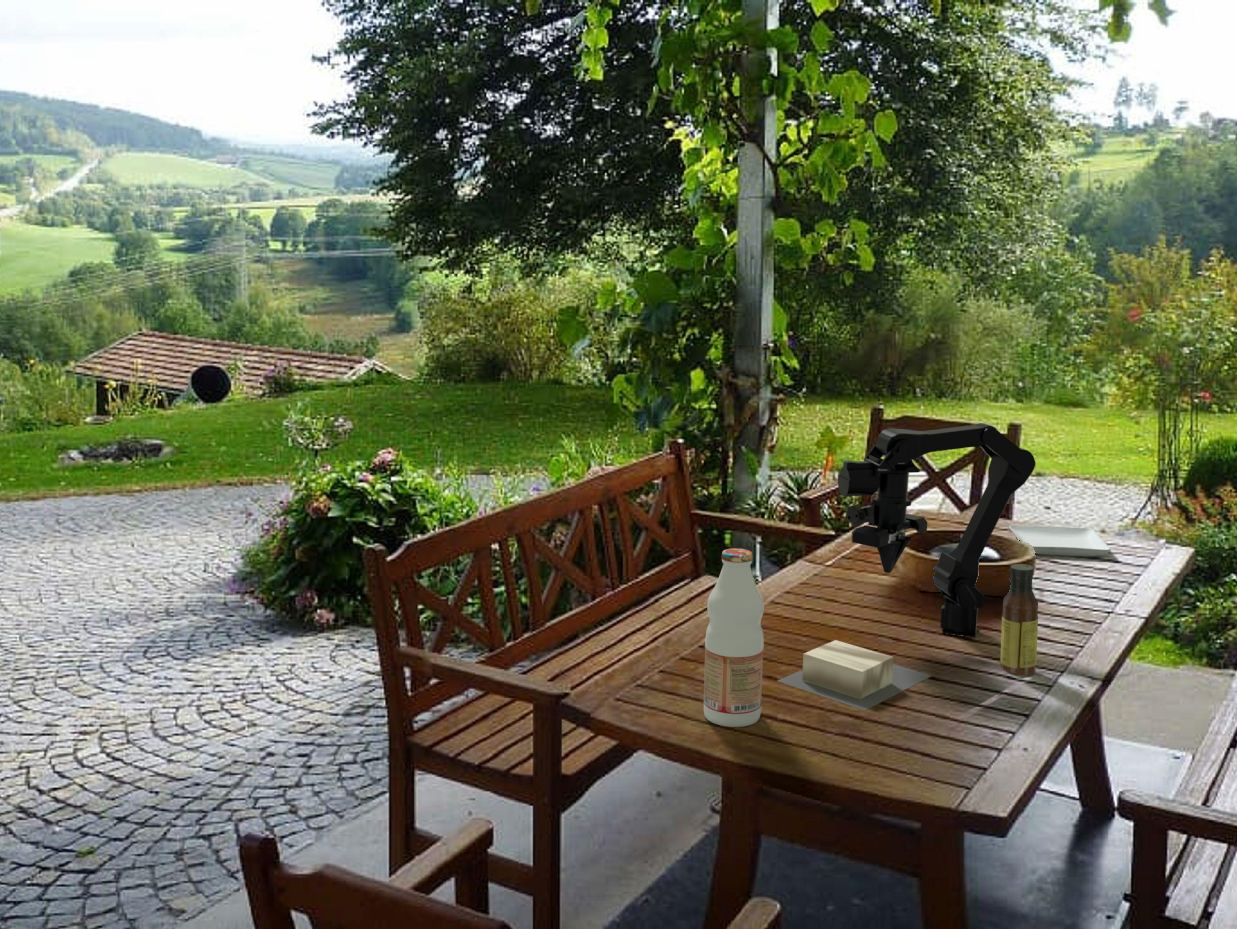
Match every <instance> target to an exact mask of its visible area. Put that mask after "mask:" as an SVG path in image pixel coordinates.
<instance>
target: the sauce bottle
mask: <svg viewBox="0 0 1237 929" xmlns="http://www.w3.org/2000/svg"><path fill="white" fill-rule="evenodd" d="M1009 574H1010V582H1011V585H1010V590H1009V592H1008V593H1007V595H1006V596H1005V597H1003V600H1002V615H1001V633H1000V634H1001V635H1000V659H999V660H1000V668H1001V669H1002V670H1003V671H1004V672H1007V673H1010V674H1013V675H1014V674H1015V675H1020V676H1023V675H1024V676H1025V675H1026V676H1028V677H1029V676H1032V675H1034V674H1035V672H1036V665H1037V657H1038V655H1037V654H1038V652H1037V651H1038V634H1039V632H1038V631H1039V628H1038V627H1039V614H1038V613H1039V612H1038V611H1039V610H1038V609H1039V602H1038V600H1037V598H1036V595H1035V593H1034V592H1033V590H1034V589H1033V579H1034V577H1033V576H1034V574H1035V568H1034V567H1033V565H1030V564H1025V563H1024V564H1023V563H1017V564H1016V563H1015V564H1014V563H1013V564H1012V565H1010V568H1009Z"/></svg>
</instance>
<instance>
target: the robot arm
mask: <svg viewBox="0 0 1237 929" xmlns="http://www.w3.org/2000/svg"><path fill="white" fill-rule="evenodd" d="M977 447H980V448H981V449H982V451H983V452H984V454H986V455H987V456H988V457H989V458H990V462H989V466H988V472H987V474H988V476H987V478H988V479H987V480H988V481H987V484H986V487H985V489H984V491H983V493H982V495H981V498H980V499H979V501H978V504H977V506H976V507H975V510H974V511H973V514H972V515H971V518H970V520H969V522H968V524H967V526H966V527H965V530H964V532H963V533H962V536H961V538H960V540H959V542H958V544H957V546H956V547H955V548H954V549H953V550H952V551H951V552H950V553H947V552H945V551H942V552H941V554H939V555H940V558H939V561H938V563H937V565H936V566H935V567H934V568H933V570H935V573H934V576H933V579H934V582H935V585H936V586H937V587H938V588H939V589H940V592H941V593H940V595H941V596H942V597H943V598H945V601H944V604H943V605H942V606H941V611H940V612H941V613H940V614H941V615H940V628H941V629H942V630H941V633H942V634H943V633H948V634H947V635H949V634H955V635H954V636H957V635H963V636H962V637H966V636H969V637H968V638H976V637H977V632H978V624H977V623H978V612H979V609H980V608H981V609H983V607H984V604H985V602H986V601H987V596H984V595H983V594H982V593H981V592H980V591H979V590H978V589H977V588H976V587H975V585H976V582H977V579H978V576H979V559H980V558H981V556H982V554H983V553H984V550H985V548H986V546H987V545H988V542H989V540H990V538H991V536H992V534H993V532H994V530H995V527H996V526H997V524H998V522H999V520H1000V518H1001V516H1002V514H1003V512H1004V510H1005V508H1006V506H1007V503H1008V502H1009V500H1010V498H1011V496H1012V494H1014V493H1015V492H1016V491H1017V490H1018V489H1020V488H1021V487H1022V486H1023V485H1025V484H1026V482H1027V481H1028V479H1029V478H1030V476H1031V474H1033V472H1034V470H1035V468H1036V464H1037V462H1036V460H1035V457H1034V455H1033V453H1032V452H1031V451H1029V450H1028V449H1025V448H1022V447H1019V446H1018V445H1017V444H1015V443H1014V442H1013V441H1011V440H1010V439H1009V438H1007V437H1006V436H1005V435H1004V434H1002V433H1001V431H999V430H998V429H997V428H996V427H995V426H993V425H991V424H987V423H985V422H978V423H976V424H971V425H970V424H969V425H964V426H963V425H962V426H955V427H953V426H952V427H946V428H937V429H930V430H913V429H907V428H906V429H905V428H890V427H889V428H886V429H882V431H880V433H879V435H877V438H876V439H875V444H874V445H873V446H872V447H871V449H870V450H869V451H868V453H867V454H866V455H865V457H864V458H863V460H858V461H857V460H856V461H855V460H854V461H853V460H844V461H843V465H842V467H841V468H840V470H839V472H838V473H839V474H838V475H837V487H838V491H839V494H840V496H842V497H862V496H863V497H867V496H874V494H875V493H876V498H873V499H871V501H870V505H866V506H862V507H861V505H859V504H854V505H848V506H847V508H846V509H847V510H846V512H845V513H846V514H845V519H846V520H847V521H848V522H849V523H851V526H852V527H855V526H858V525H861V524H865V523H868V524H867V525H862V526H859V527H855V529H854V530H852V531H851V540H850V541H851V543H854V544H858V545H863V546H868V547H872V548H877V551H878V554H879V557H880V562H881V565H882V568H883V572H884V573H886V574H890V573H892V571H893V570H894V568H895V566H896V564H897V562H898V561H899V559H900V558H901V555H902V554H903V552H904V551H905V549H906V547H907V546H908V544H909V543H910V541H912V539H913V538H912V537H911V536H906V534H907V533H906V532H905V531H907V530H909V529H912V530H916V533H917V534H922V533H926V532H927V531H928V521H927V519H926V518H925V517H924V516H920V515H915V514H909V513H907V511H908V510H907V508H908V507H911V506H912V499H908V492H909V475H910V474H912V473H914V474H915V473H921V469H920V468H919V467H918V466H916V464H915V463H914V460H916V459H920V458H921V457H922V456H924V455H927V454H930V453H934V452H942V451H950V450H951V451H953V450H958V449H967V448H968V449H969V448H977Z"/></svg>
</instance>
